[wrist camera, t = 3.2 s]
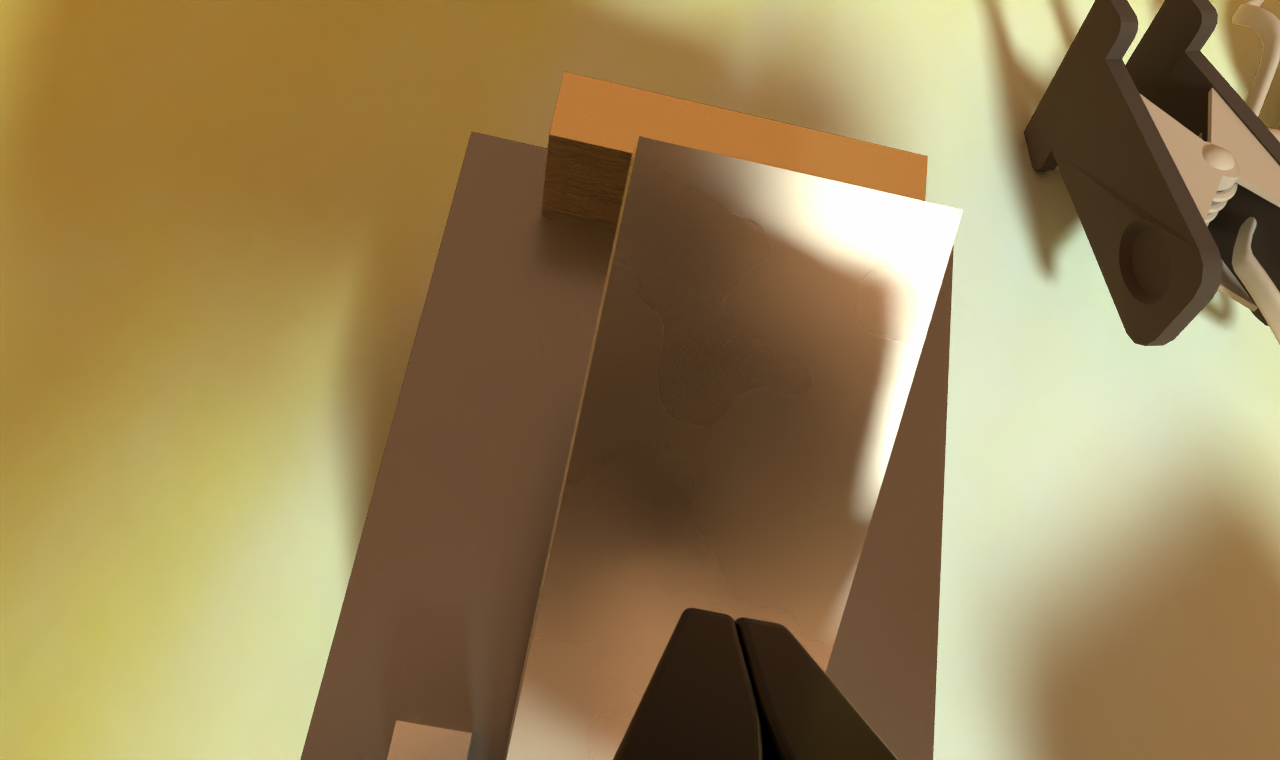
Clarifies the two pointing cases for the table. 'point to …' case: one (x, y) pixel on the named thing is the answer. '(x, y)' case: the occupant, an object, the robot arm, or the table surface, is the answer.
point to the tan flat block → (724, 425)
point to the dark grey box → (542, 432)
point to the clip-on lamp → (1167, 164)
